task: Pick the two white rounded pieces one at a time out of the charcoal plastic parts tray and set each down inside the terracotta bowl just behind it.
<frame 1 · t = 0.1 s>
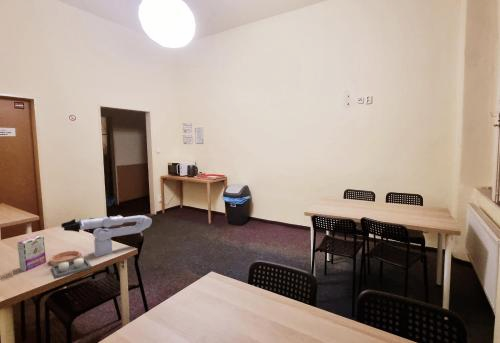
hand: (62, 227, 150), 22 cm above the table, tool horizontal, fingers open, 7 cm apart
white rounded piece 1: (79, 266, 147), point 1 cm above the table, touching parts tray
bowl: (66, 260, 156), on the table
white rounded piece 2: (64, 270, 142), point 1 cm above the table, touching parts tray
candy bar box: (33, 267, 147), on the table
parts tray: (71, 269, 145), on the table
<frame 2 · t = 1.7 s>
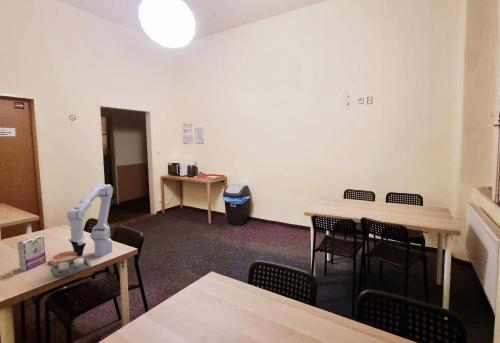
hand: (78, 253, 146), 8 cm above the table, tool pointing down, fingers open, 7 cm apart
nothing on the table moved.
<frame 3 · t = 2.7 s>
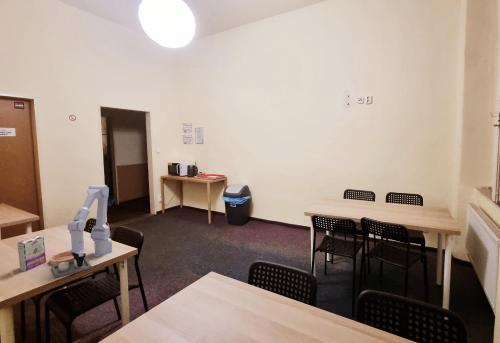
hand: (79, 264, 147), 2 cm above the table, tool pointing down, fingers closed on white rounded piece 1, 5 cm apart
white rounded piece 1: (79, 266, 147), point 1 cm above the table, touching gripper, parts tray
everything else where it was.
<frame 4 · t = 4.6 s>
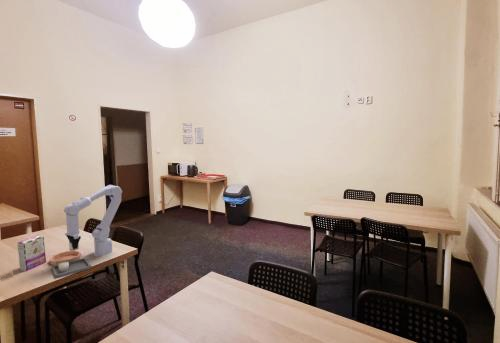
hand: (74, 247, 153), 9 cm above the table, tool pointing down, fingers closed on white rounded piece 1, 5 cm apart
white rounded piece 1: (74, 249, 153), point 8 cm above the table, touching gripper
everything else where it was.
when the fingers open (4 cm above the table, at t = 6.4 s): white rounded piece 1 drops 2 cm, resting on bowl.
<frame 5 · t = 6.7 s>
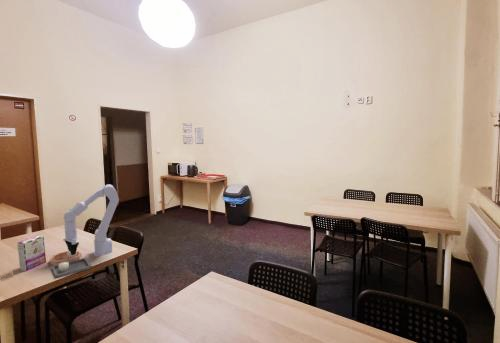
hand: (72, 252, 158), 4 cm above the table, tool pointing down, fingers open, 7 cm apart
white rounded piece 1: (72, 257, 158), point 1 cm above the table, touching bowl
everything else where it was.
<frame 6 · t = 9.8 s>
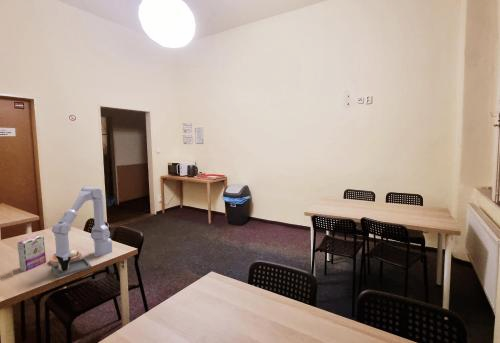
hand: (63, 268, 142), 2 cm above the table, tool pointing down, fingers closed on white rounded piece 2, 5 cm apart
white rounded piece 2: (64, 270, 142), point 1 cm above the table, touching gripper, parts tray
everything else where it was.
when the fingers open (4 cm above the table, at t = 13.3 s): white rounded piece 2 drops 2 cm, resting on bowl.
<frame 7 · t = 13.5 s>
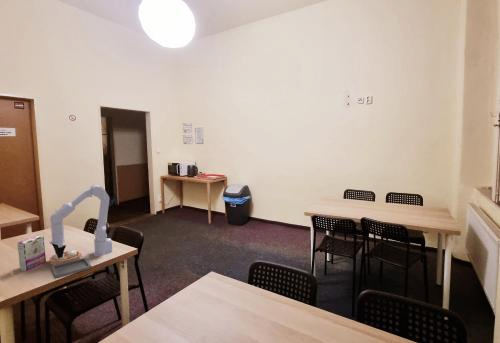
hand: (59, 255, 153), 4 cm above the table, tool pointing down, fingers open, 6 cm apart
white rounded piece 2: (59, 261, 154), point 1 cm above the table, touching bowl
everything else where it was.
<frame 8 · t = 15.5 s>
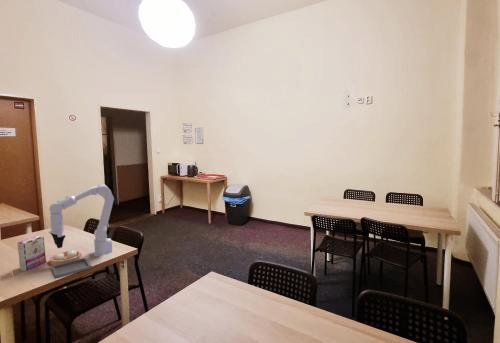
hand: (58, 245, 153), 10 cm above the table, tool pointing down, fingers open, 7 cm apart
nothing on the table moved.
at the end: white rounded piece 1 inside the target area on the bowl (3.1 cm from its centre), point 0.6 cm above the bowl's base; white rounded piece 2 inside the target area on the bowl (3.3 cm from its centre), point 0.6 cm above the bowl's base; candy bar box moved 0.2 cm from its start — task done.
